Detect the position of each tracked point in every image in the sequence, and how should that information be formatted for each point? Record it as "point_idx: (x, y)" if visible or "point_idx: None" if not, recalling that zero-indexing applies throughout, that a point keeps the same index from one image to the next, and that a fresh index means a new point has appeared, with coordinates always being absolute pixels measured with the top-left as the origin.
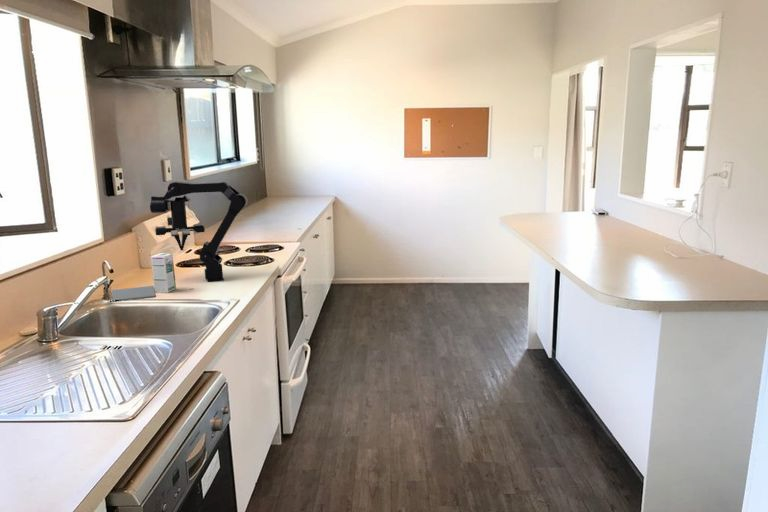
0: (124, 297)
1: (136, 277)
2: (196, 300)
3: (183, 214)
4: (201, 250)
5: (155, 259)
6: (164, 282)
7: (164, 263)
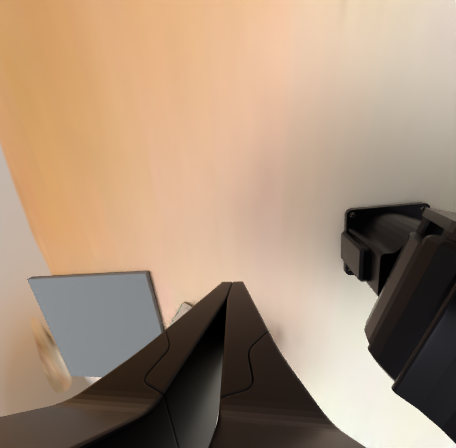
0: (100, 366)
1: (34, 70)
2: None
3: None
4: (422, 409)
5: None
6: None
7: None
